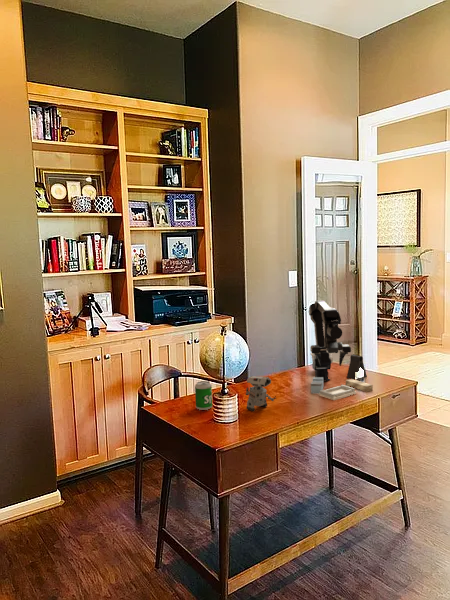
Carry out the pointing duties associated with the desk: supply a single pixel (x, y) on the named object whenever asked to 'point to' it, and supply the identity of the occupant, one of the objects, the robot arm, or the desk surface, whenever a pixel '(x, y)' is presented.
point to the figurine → (257, 392)
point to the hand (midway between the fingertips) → (330, 365)
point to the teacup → (327, 352)
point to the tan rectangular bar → (359, 385)
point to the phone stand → (355, 366)
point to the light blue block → (317, 385)
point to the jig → (337, 392)
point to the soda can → (203, 395)
